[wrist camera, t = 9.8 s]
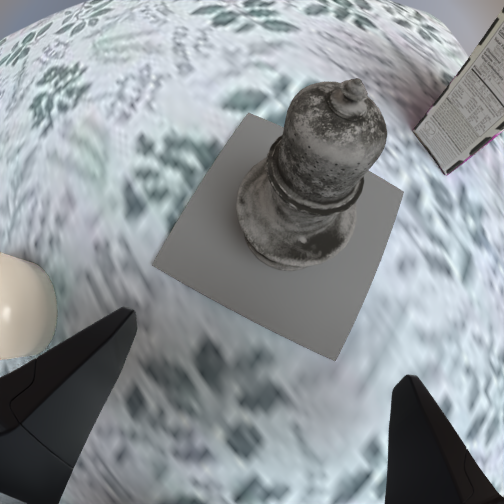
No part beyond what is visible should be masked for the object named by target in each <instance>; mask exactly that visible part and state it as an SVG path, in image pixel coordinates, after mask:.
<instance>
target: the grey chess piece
mask: <svg viewBox="0 0 504 504" xmlns="http://www.w3.org/2000/svg"><path fill="white" fill-rule="evenodd" d="M367 94H368V93H367V91H366V89H365V87H364V85H363V83H362V81H361V80H360V79H358V78H356V79H351V80H349V81H348V80H346V81H344V82H342V83H338V82H320V83H316V84H312V85H310V86H308V87H306V88H304V89H302V90H300V92H299V93H298V94H297V95H296V96H295V97H294V98H293V100H292V102H291V104H290V106H289V108H288V111H287V116H286V120H285V125H284V130H283V135H281V136H280V137H278V138H277V139H276V141H275V142H274V143H273V144H272V145H271V147H270V150H269V152H268V154H267V158H264V159H263V160H262V161H260V162H259V163H257V164H256V165H254V166H253V167H252V168H251V170H250V171H249V172H248V173H247V174H246V176H245V177H244V178H243V181H242V183H241V185H240V188H239V190H238V195H237V203H236V209H237V215H238V221H239V224H240V226H241V229H242V231H243V233H244V236H245V240H246V242H247V244H248V246H249V249H250V250H251V251H252V253H253V254H254V255H255V256H256V257H257V259H259V260H260V261H262V262H263V263H264V264H266V265H267V266H270V267H272V268H275V269H278V270H285V271H295V270H300V269H304V268H306V267H309V266H314V265H319V264H321V263H324V262H326V261H328V260H330V259H332V258H334V257H335V256H336V255H337V254H338V253H339V252H340V251H341V250H343V249H344V248H345V246H346V245H347V243H348V242H349V240H350V238H351V237H352V235H353V232H354V228H355V224H356V221H357V210H356V201H357V200H358V198H359V196H360V195H361V193H362V190H363V185H364V175H365V174H366V172H367V171H368V170H369V169H370V168H371V166H372V165H373V164H374V163H375V162H376V160H377V159H378V158H379V156H380V155H381V153H382V151H383V149H384V147H385V144H386V138H387V129H386V124H385V121H384V118H383V116H382V114H381V112H380V110H379V108H378V107H377V106H376V104H375V103H374V102H373V101H372V100H371V99H370V98H369V97H368V96H367Z"/></svg>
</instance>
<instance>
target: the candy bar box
mask: <svg viewBox="0 0 504 504" xmlns="http://www.w3.org/2000/svg"><path fill="white" fill-rule="evenodd" d="M503 131H504V8H503V10H502V11H501V12H500V14H499V15H498V17H497V18H496V20H495V21H494V22H493V24H492V25H491V27H490V28H489V29H488V31H487V32H486V34H485V35H484V37H483V38H482V40H481V41H480V42H479V44H478V45H477V47H476V48H475V50H474V51H473V52H472V54H471V55H470V57H469V58H468V60H467V61H466V62H465V64H464V65H463V66H462V68H461V69H460V71H459V72H458V73H457V75H456V76H455V77H454V78H453V80H452V81H451V82H450V84H449V85H448V86H447V88H446V89H445V90H444V91H443V93H442V94H441V95H440V97H439V98H438V99H437V100H436V102H435V103H434V104H433V105H432V107H431V108H430V109H429V110H428V112H427V113H426V114H425V116H424V117H423V118H422V119H421V120H420V122H419V123H418V124H417V125H416V127H415V128H414V129H413V132H414V133H415V135H416V136H417V137H418V139H419V140H420V142H421V143H422V144H423V145H424V146H425V147H426V149H427V150H428V151H429V153H430V154H431V155H432V156H433V158H434V159H435V161H436V162H437V164H438V165H439V166H440V168H441V169H442V171H443V172H444V173H445V175H448V174H450V173H451V172H452V171H454V170H455V169H456V168H458V167H459V166H460V165H462V164H463V163H464V162H466V161H467V160H468V159H469V158H471V157H472V156H473V155H475V154H476V153H477V152H478V151H479V150H481V149H482V148H483V147H485V146H486V145H487V144H488V143H489V142H491V141H492V140H493V139H494V138H495V137H497V136H498V135H499V134H500V133H501V132H503Z"/></svg>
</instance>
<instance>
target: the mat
mask: <svg viewBox="0 0 504 504" xmlns="http://www.w3.org/2000/svg"><path fill="white" fill-rule="evenodd" d="M283 130H284V128H283V127H281V126H279V125H277V124H274V123H272V122H270V121H267V120H265V119H263V118H260V117H258V116H255V115H253V114H250V113H248V114H247V115H246V117H245V118H244V119H243V121H242V122H241V124H240V125H239V127H238V128H237V129H236V131H235V132H234V134H233V135H232V137H231V138H230V139H229V141H228V142H227V144H226V145H225V147H224V148H223V150H222V151H221V153H220V154H219V156H218V157H217V159H216V160H215V162H214V163H213V165H212V166H211V168H210V169H209V171H208V172H207V174H206V175H205V177H204V178H203V180H202V182H201V183H200V185H199V186H198V188H197V189H196V191H195V193H194V194H193V196H192V197H191V199H190V201H189V202H188V204H187V206H186V207H185V209H184V210H183V212H182V214H181V215H180V217H179V219H178V220H177V222H176V224H175V226H174V227H173V229H172V231H171V232H170V234H169V236H168V237H167V239H166V241H165V243H164V244H163V246H162V248H161V250H160V251H159V253H158V255H157V257H156V259H155V260H154V262H153V264H152V265H153V266H154V267H156V268H158V269H159V270H161V271H163V272H164V273H166V274H168V275H170V276H171V277H173V278H175V279H176V280H178V281H180V282H182V283H183V284H185V285H187V286H189V287H191V288H192V289H194V290H196V291H198V292H199V293H201V294H203V295H205V296H207V297H208V298H210V299H212V300H214V301H216V302H218V303H219V304H221V305H223V306H225V307H227V308H229V309H231V310H232V311H234V312H236V313H238V314H240V315H242V316H244V317H246V318H248V319H250V320H252V321H253V322H255V323H257V324H259V325H261V326H263V327H265V328H267V329H269V330H271V331H273V332H275V333H277V334H279V335H281V336H283V337H285V338H287V339H289V340H291V341H293V342H295V343H297V344H299V345H302V346H304V347H306V348H308V349H310V350H312V351H314V352H316V353H318V354H321V355H323V356H325V357H327V358H329V359H331V360H334V361H336V359H337V357H338V355H339V353H340V351H341V349H342V347H343V345H344V343H345V341H346V339H347V337H348V335H349V333H350V331H351V329H352V326H353V324H354V322H355V320H356V318H357V316H358V313H359V311H360V309H361V307H362V304H363V302H364V300H365V298H366V295H367V293H368V290H369V288H370V286H371V283H372V281H373V278H374V276H375V273H376V271H377V268H378V266H379V263H380V261H381V258H382V255H383V253H384V250H385V247H386V245H387V242H388V239H389V236H390V233H391V230H392V228H393V225H394V222H395V219H396V216H397V212H398V209H399V206H400V203H401V200H402V197H403V193H404V192H403V191H402V190H400V189H398V188H397V187H395V186H394V185H392V184H390V183H389V182H387V181H385V180H384V179H382V178H380V177H379V176H377V175H375V174H373V173H372V172H370V171H367V172H366V174H365V175H364V185H363V190H362V193H361V195H360V196H359V198H358V200H357V201H356V210H357V221H356V224H355V228H354V232H353V235H352V237H351V238H350V240H349V242H348V243H347V245H346V246H345V248H344V249H343V250H341V251H340V252H339V253H338V254H337V255H336V256H335V257H334V258H332V259H330V260H328V261H326V262H324V263H321V264H319V265H314V266H309V267H306V268H304V269H300V270H295V271H285V270H278V269H275V268H272V267H270V266H267V265H266V264H264V263H263V262H262V261H260V260H259V259H257V257H256V256H255V255H254V254H253V253H252V251H251V250H250V249H249V246H248V244H247V242H246V240H245V236H244V233H243V231H242V229H241V226H240V224H239V221H238V215H237V209H236V203H237V195H238V190H239V188H240V185H241V183H242V181H243V178H244V177H245V176H246V174H247V173H248V172H249V171H250V170H251V168H252V167H253V166H254V165H256V164H257V163H259V162H260V161H262V160H263V159H264V158H267V154H268V152H269V150H270V147H271V145H272V144H273V143H274V142H275V141H276V139H277V138H278V137H280V136H281V135H283Z"/></svg>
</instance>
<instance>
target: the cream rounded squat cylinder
mask: <svg viewBox="0 0 504 504" xmlns="http://www.w3.org/2000/svg"><path fill="white" fill-rule="evenodd" d="M57 312H58V311H57V300H56V295H55V291H54V288H53V285H52V282H51V280H50V278H49V277H48V275H47V274H46V272H45V271H44V270H43V269H42V268H41V267H40V266H38V265H37V264H35V263H32V262H29V261H26V260H23V259H19V258H16V257H13V256H10V255H7V254H4V253H1V252H0V360H4V359H12V358H20V357H27V356H34V355H37V354H39V353H41V352H43V351H44V350H45V349H46V348H47V347H48V345H49V344H50V342H51V340H52V338H53V336H54V333H55V329H56V325H57Z"/></svg>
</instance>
